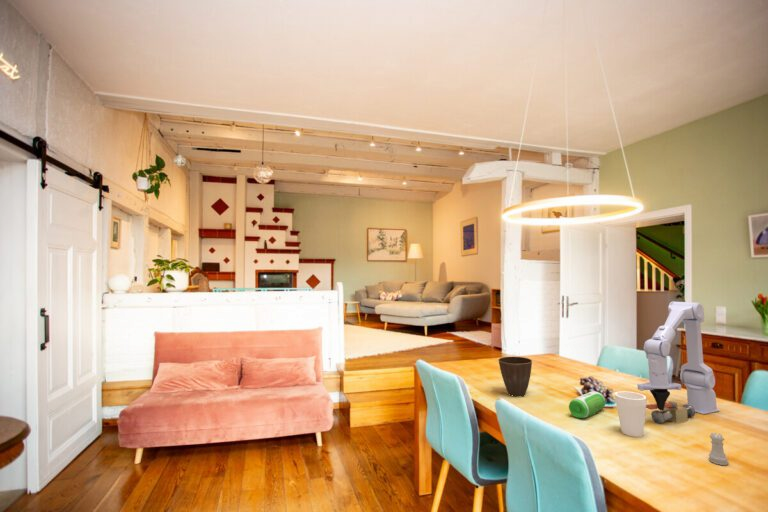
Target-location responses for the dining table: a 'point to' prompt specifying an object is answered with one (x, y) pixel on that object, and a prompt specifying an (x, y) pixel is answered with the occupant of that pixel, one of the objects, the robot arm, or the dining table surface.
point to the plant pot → (516, 374)
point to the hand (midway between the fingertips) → (660, 409)
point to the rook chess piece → (717, 450)
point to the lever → (669, 404)
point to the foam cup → (631, 412)
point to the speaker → (587, 404)
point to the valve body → (673, 414)
